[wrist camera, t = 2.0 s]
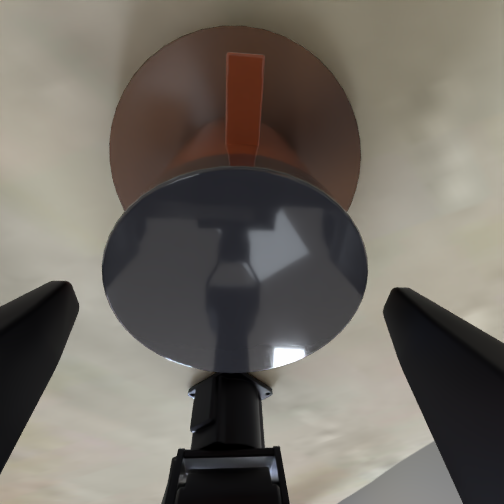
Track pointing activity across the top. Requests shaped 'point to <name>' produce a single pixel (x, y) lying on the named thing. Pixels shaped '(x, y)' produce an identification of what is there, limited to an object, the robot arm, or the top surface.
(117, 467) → the top surface
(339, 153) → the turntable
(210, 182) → the orange mug
